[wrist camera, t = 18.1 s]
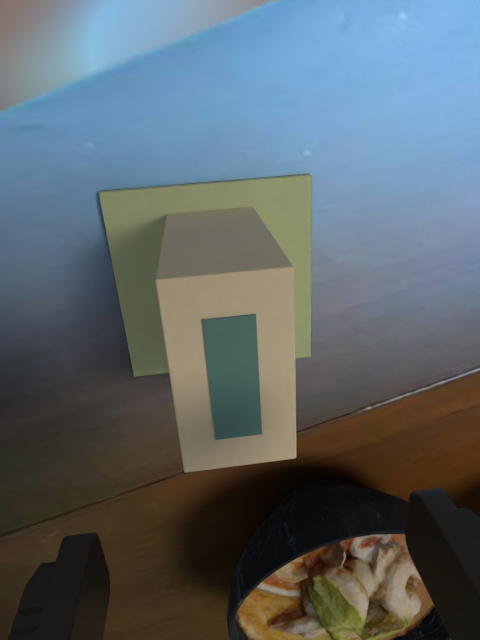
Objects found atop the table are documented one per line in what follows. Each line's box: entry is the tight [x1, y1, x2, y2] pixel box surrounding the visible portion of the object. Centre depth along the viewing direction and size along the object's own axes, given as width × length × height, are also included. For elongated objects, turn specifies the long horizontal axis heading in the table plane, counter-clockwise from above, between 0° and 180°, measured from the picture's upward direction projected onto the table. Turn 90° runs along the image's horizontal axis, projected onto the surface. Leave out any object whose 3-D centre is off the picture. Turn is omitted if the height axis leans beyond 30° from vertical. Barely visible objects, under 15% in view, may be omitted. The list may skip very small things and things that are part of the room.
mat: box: [99, 174, 312, 376], centre depth 28 cm, size 12×12×1 cm
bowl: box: [227, 479, 450, 640], centre depth 34 cm, size 17×17×10 cm
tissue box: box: [155, 207, 296, 472], centre depth 23 cm, size 5×9×11 cm, turn 3°
